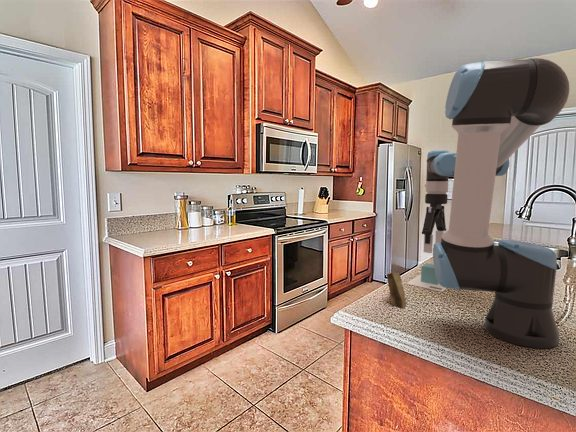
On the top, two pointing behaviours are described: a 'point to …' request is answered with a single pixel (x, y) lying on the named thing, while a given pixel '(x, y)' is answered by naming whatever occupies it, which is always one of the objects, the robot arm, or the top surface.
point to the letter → (425, 284)
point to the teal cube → (428, 274)
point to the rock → (396, 290)
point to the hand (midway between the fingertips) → (433, 250)
